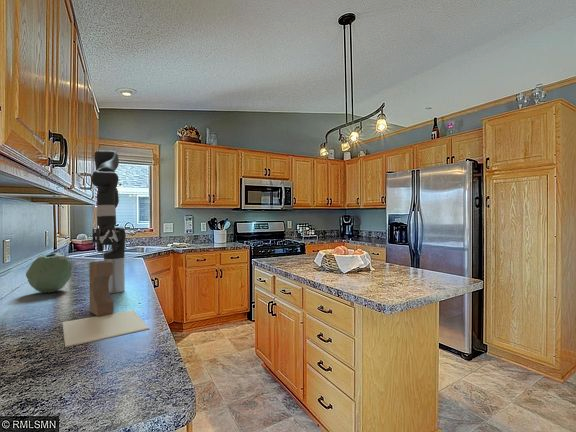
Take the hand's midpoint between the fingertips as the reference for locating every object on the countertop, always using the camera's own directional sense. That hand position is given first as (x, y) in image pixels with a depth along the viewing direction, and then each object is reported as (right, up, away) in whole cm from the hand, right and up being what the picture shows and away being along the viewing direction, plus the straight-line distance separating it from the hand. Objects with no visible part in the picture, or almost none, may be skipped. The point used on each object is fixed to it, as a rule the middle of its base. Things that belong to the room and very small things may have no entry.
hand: (107, 250), depth 138 cm
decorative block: (+8, -23, -18) cm, 30 cm away
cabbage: (-40, -23, +18) cm, 49 cm away
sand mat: (+18, -23, -32) cm, 43 cm away
